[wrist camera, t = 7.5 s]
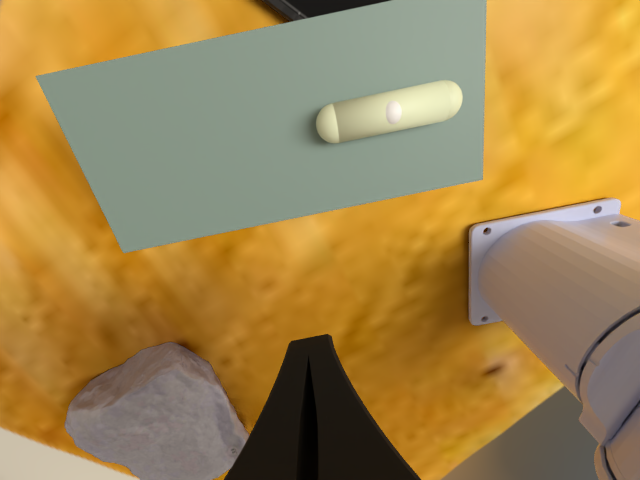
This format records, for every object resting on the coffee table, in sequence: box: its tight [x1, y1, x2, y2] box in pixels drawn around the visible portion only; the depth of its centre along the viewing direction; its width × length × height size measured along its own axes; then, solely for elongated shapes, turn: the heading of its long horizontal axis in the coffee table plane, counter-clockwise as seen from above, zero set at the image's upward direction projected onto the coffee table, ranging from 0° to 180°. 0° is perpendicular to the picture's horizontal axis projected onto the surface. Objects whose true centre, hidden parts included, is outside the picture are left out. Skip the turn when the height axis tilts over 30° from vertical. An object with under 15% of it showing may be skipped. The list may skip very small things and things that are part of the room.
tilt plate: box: [36, 0, 486, 253], centre depth 12 cm, size 16×7×3 cm, turn 101°
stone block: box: [65, 342, 249, 480], centre depth 24 cm, size 12×5×10 cm
